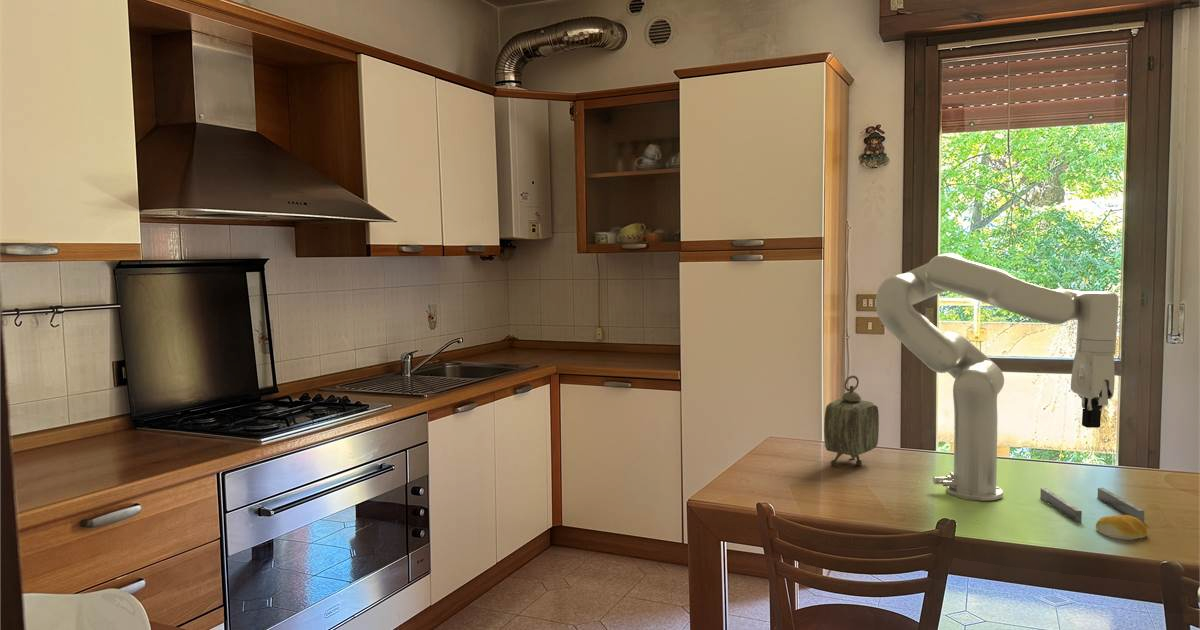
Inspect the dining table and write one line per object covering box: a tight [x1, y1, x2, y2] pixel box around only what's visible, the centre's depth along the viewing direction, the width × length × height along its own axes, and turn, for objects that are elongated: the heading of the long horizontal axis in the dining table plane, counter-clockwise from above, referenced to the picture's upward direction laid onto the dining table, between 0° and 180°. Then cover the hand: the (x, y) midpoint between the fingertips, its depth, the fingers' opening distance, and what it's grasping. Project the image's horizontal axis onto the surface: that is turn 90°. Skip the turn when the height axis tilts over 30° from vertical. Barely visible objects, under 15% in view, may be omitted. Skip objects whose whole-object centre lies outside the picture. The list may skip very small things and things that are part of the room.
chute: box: [1039, 487, 1145, 523], centre depth 183 cm, size 14×16×2 cm
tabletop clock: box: [823, 375, 880, 467], centre depth 223 cm, size 14×9×25 cm, turn 133°
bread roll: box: [1095, 514, 1148, 541], centre depth 169 cm, size 8×9×4 cm
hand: (1090, 426), depth 181 cm, fingers closed
